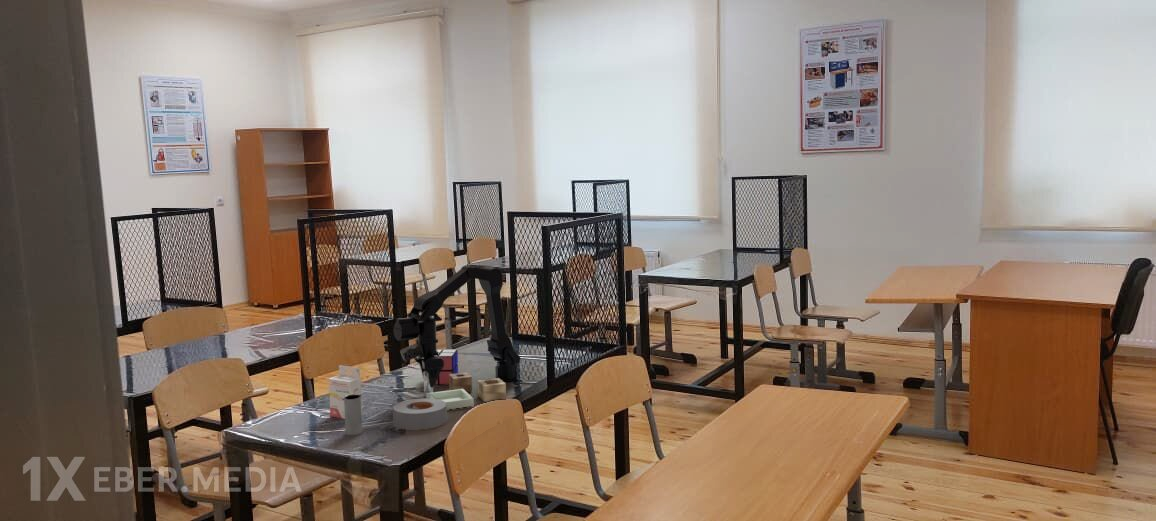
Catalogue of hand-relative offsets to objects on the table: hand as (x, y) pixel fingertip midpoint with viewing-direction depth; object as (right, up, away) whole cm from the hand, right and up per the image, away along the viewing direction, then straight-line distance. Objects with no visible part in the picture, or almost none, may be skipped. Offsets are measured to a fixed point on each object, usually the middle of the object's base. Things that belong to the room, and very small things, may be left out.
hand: (428, 383), depth 259 cm
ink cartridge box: (-21, -7, -19) cm, 29 cm away
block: (+9, -3, +7) cm, 12 cm away
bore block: (+20, -4, -2) cm, 21 cm away
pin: (0, -4, 0) cm, 4 cm away
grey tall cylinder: (-15, -9, -34) cm, 38 cm away
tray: (+8, -5, -8) cm, 12 cm away
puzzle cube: (+1, -2, +18) cm, 18 cm away
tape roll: (+2, -8, -25) cm, 26 cm away
